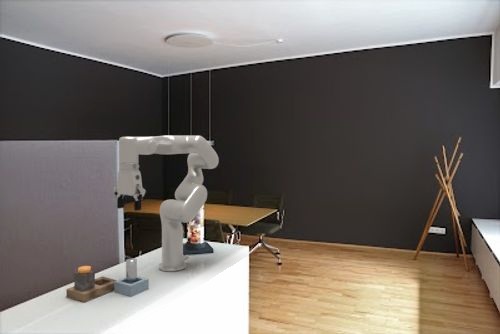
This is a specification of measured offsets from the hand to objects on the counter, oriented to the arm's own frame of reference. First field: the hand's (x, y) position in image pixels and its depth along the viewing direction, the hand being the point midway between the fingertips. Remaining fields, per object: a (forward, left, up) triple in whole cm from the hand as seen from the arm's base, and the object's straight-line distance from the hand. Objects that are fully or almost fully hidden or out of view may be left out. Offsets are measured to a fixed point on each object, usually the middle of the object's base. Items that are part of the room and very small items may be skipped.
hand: (129, 209), depth 156 cm
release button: (+19, -3, -27) cm, 33 cm away
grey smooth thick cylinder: (+6, +8, -30) cm, 32 cm away
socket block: (+15, -3, -30) cm, 34 cm away
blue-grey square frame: (+6, +8, -30) cm, 32 cm away
